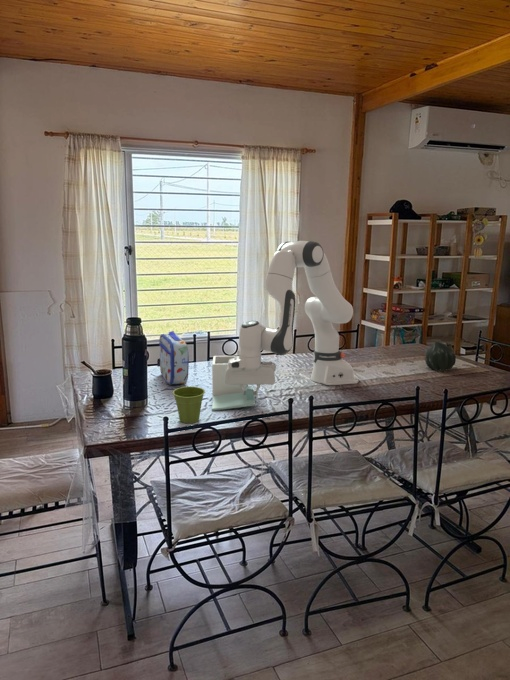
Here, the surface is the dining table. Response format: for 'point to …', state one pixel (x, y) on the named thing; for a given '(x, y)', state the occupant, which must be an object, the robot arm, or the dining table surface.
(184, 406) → the plant pot
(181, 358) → the lunch box
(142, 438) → the dining table surface
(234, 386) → the tub
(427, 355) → the squash
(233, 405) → the lid
